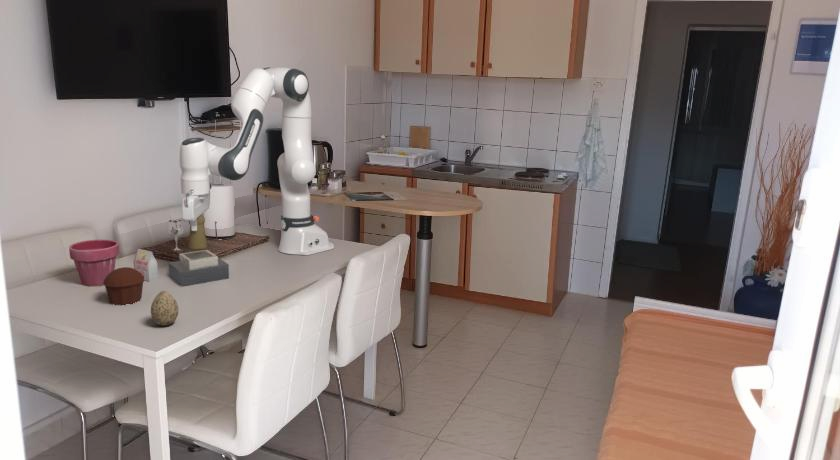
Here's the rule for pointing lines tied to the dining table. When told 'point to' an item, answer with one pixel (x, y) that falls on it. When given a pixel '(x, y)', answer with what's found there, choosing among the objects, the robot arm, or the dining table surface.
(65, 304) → the dining table surface
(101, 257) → the plant pot
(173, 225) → the wineglass
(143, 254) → the white box
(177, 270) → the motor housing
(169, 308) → the decorative egg
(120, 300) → the muffin
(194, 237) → the cork
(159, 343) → the dining table surface
